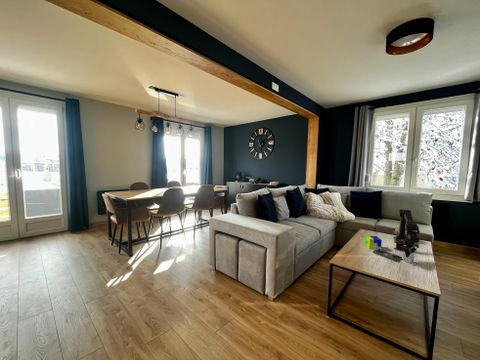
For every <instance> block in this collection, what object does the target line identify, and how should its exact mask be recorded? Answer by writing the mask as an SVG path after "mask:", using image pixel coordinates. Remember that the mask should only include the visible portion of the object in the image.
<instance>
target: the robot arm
mask: <svg viewBox="0 0 480 360" xmlns="http://www.w3.org/2000/svg"><path fill="white" fill-rule="evenodd" d="M397 214H398V216H399V225H398V226H399V233H398V234H396V235H395V236H396V237H395V236H394V237H395V239H394V238H393V243H394V244H395V247H394V248H393V250H397V251H400V252H403V253H404V252H405V255H406V257H407V258H408V257H409V255H410V254H411V252H414V253H415V252H416V251H417V250H418V249H419V248H420V244H418V243H420V242H421V241H420V240H421V239H420V237H419V236H418V235H420V232H421V231H420V226H419V225H418V224H417V222H416V221H415V220H414V219H413V216H412V210H410V209H402V208H400V209H398V211H397ZM405 229H406V236H405Z"/></svg>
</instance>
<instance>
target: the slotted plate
mask: <svg viewBox="0 0 480 360" xmlns="http://www.w3.org/2000/svg"><path fill="white" fill-rule="evenodd" d="M372 252H373V254H375V255H378V256H380V257H382V258H385V259H387V260H390V261H392V262H395V263H397V262H400V261H401V260H403V257H402V256H401V255H398V254H394V253H392V252H389V251H386V250H383V249H382V248H381V249H377V250H373V251H372Z"/></svg>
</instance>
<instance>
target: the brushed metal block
mask: <svg viewBox="0 0 480 360" xmlns="http://www.w3.org/2000/svg"><path fill="white" fill-rule="evenodd" d="M414 259H415V252H411V254H410V255H409V257H408V258H407V257H406V255H405V252H404V251H403V257H402V260H403V261H406V262H409V263H412V262H414Z"/></svg>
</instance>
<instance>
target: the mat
mask: <svg viewBox="0 0 480 360" xmlns="http://www.w3.org/2000/svg"><path fill="white" fill-rule="evenodd" d="M399 262H400V263H404V264H405V265H407V266H411V267H412V266H415V265H417V262H414V261H413V262H412V263H409V262H406V261H403V259H402V260H399Z"/></svg>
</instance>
